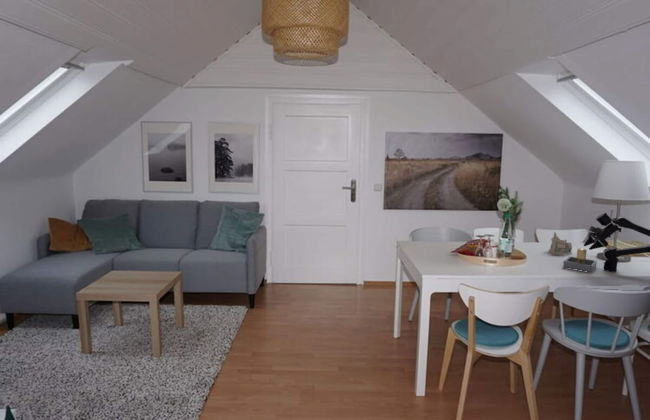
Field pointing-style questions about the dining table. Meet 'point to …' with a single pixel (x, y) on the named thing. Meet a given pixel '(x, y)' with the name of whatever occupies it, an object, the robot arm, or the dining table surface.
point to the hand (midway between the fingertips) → (586, 247)
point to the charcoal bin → (572, 264)
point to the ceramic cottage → (560, 247)
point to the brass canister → (581, 256)
